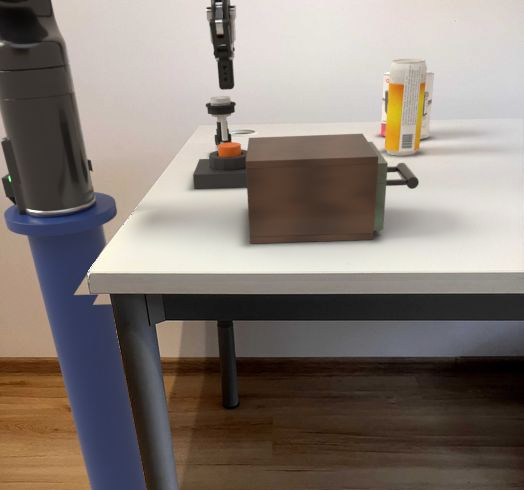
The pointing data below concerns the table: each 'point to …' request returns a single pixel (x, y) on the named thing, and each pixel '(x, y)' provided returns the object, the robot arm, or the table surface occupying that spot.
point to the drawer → (389, 184)
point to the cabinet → (311, 188)
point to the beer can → (405, 106)
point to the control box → (221, 171)
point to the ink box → (425, 106)
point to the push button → (221, 117)
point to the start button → (229, 149)
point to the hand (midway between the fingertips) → (227, 88)
